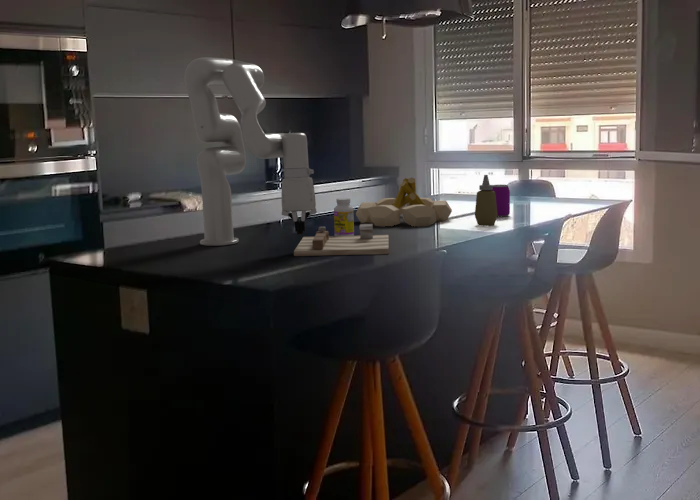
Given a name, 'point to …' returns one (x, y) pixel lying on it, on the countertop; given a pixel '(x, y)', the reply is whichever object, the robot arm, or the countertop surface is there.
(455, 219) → the countertop surface
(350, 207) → the supplement bottle
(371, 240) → the hinge board
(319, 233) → the link
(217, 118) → the robot arm
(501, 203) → the beverage can
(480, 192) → the squeeze bottle
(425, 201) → the campfire
